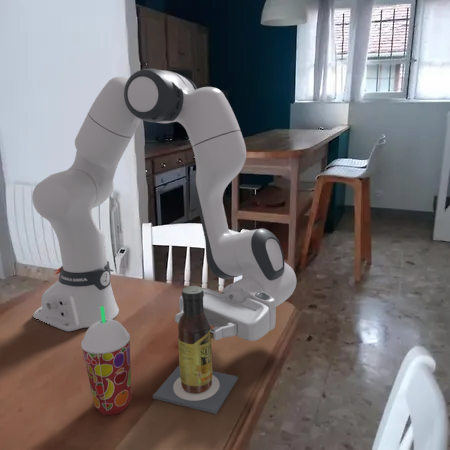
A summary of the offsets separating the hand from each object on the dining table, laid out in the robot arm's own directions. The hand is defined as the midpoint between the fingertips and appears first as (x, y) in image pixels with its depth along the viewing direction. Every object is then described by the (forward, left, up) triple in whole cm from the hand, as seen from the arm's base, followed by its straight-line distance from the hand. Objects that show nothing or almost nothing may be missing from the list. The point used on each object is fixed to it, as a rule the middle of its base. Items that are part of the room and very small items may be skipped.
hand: (194, 327), depth 83 cm
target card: (0, 0, -13) cm, 13 cm away
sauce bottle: (0, 0, -12) cm, 13 cm away
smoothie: (-13, -10, -13) cm, 21 cm away
